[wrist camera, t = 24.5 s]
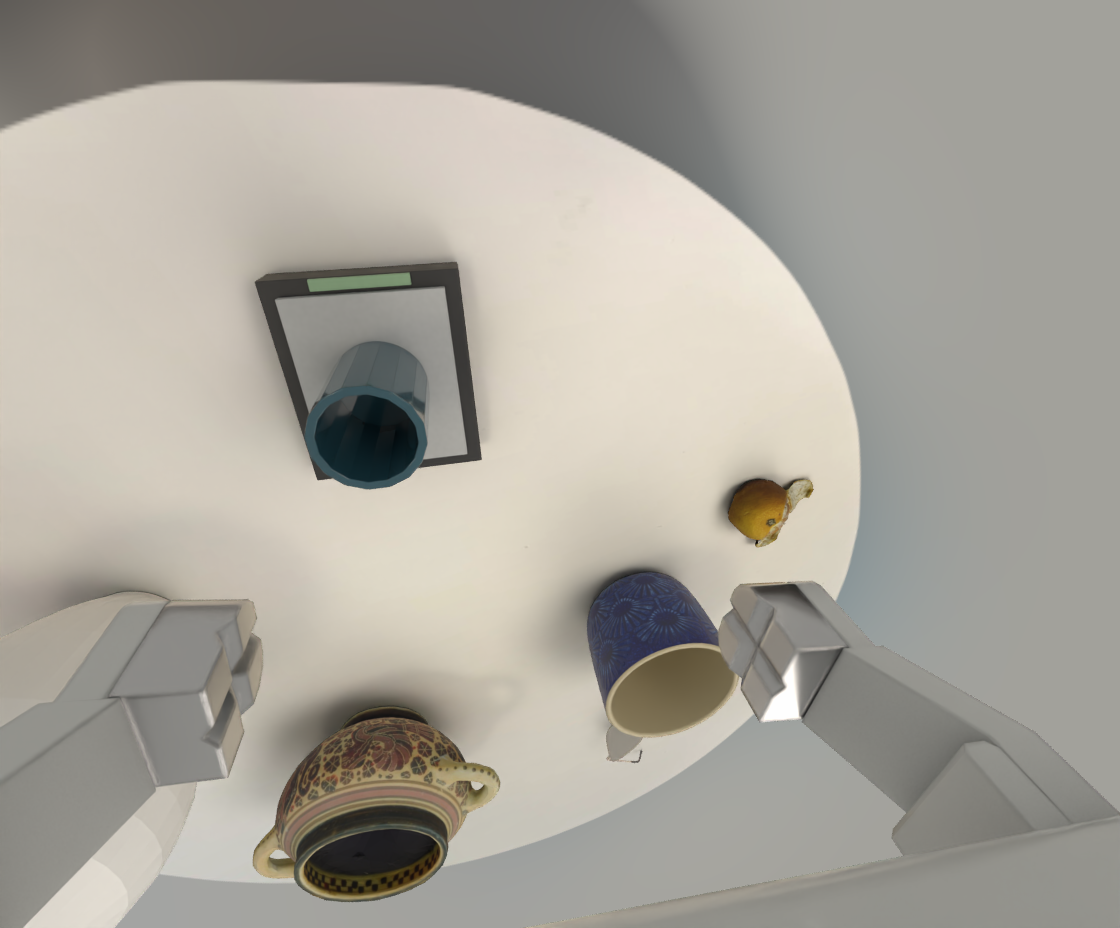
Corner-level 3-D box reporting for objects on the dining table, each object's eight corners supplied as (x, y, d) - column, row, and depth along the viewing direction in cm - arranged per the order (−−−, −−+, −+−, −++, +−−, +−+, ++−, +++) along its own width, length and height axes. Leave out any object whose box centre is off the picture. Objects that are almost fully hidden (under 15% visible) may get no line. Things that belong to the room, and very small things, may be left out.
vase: (-19, 662, 43) (-471, 1155, 21) (39, 504, 37) (-492, 956, 16) (214, 710, 50) (51, 1108, 29) (290, 585, 45) (156, 963, 24)
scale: (266, 273, 33) (250, 283, 30) (457, 261, 35) (458, 269, 32) (323, 463, 40) (315, 485, 37) (479, 445, 42) (482, 464, 39)
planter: (642, 657, 59) (679, 748, 50) (554, 627, 54) (578, 723, 45) (712, 581, 55) (767, 665, 46) (624, 541, 50) (666, 627, 41)
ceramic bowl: (312, 774, 62) (301, 937, 52) (211, 733, 49) (171, 938, 39) (506, 705, 63) (533, 852, 53) (457, 647, 50) (480, 826, 40)
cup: (320, 345, 33) (289, 393, 26) (421, 336, 34) (416, 380, 27) (344, 432, 36) (322, 496, 29) (435, 422, 37) (434, 481, 30)
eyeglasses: (677, 669, 62) (692, 700, 58) (714, 685, 66) (730, 714, 63) (598, 736, 65) (608, 768, 62) (637, 747, 70) (649, 778, 66)
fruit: (768, 545, 54) (788, 569, 51) (705, 527, 51) (723, 551, 48) (815, 481, 51) (840, 502, 48) (752, 457, 48) (774, 478, 45)
